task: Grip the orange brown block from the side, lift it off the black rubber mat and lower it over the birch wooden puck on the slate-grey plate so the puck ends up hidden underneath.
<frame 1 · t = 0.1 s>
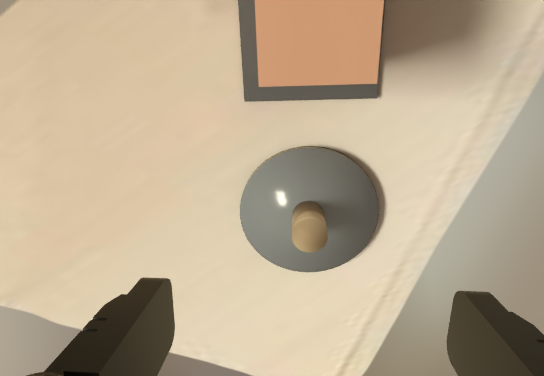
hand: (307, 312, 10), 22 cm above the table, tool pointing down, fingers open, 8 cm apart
mat: (310, 27, 27), on the table
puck: (308, 215, 33), point 1 cm above the table, touching plate
orange brown block: (310, 27, 27), resting on mat
plate: (308, 211, 33), on the table
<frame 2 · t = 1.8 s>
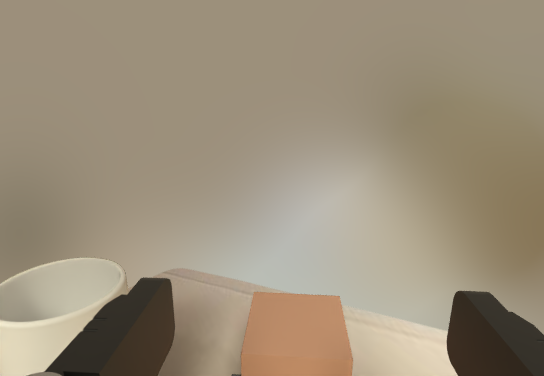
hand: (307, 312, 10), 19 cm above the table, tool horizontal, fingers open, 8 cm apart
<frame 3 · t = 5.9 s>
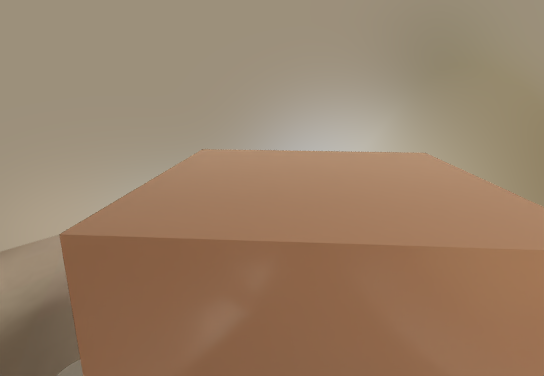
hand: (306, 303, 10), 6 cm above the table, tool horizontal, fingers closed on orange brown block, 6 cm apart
when the fingers open (8 cm above the table, at t = 11.3 s): orange brown block drops 1 cm, resting on plate.
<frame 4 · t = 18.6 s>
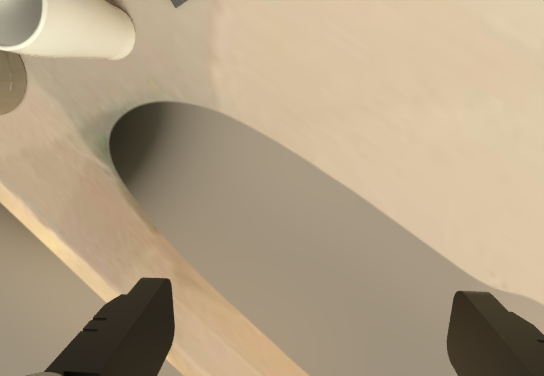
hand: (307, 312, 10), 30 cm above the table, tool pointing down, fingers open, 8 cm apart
drinking glass: (114, 34, 37), on the table
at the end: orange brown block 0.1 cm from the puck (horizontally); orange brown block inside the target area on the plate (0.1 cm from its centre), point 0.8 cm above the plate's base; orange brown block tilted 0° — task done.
